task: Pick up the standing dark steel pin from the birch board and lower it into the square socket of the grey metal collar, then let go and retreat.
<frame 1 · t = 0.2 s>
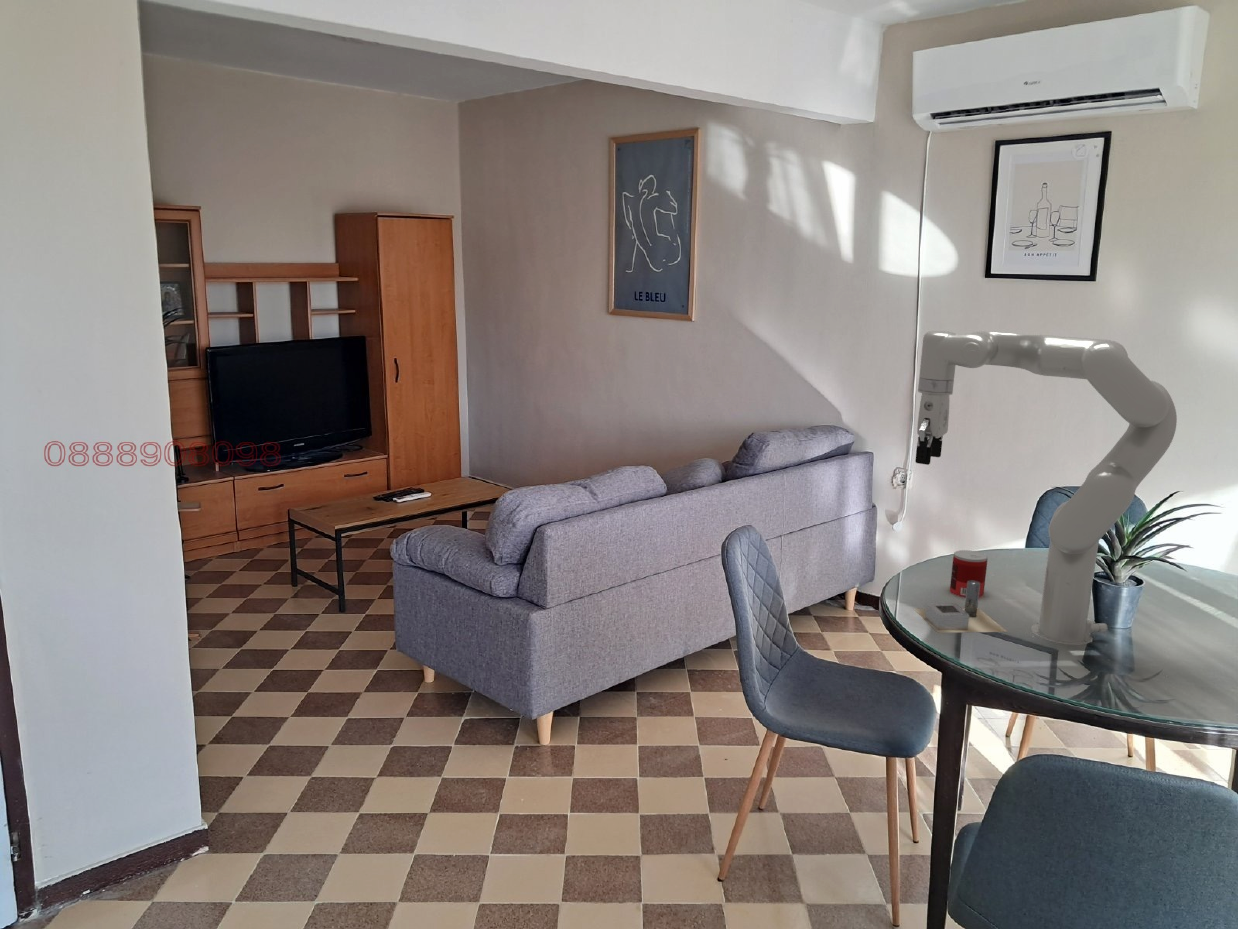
hand: (928, 460, 220), 36 cm above the table, tool pointing down, fingers open, 9 cm apart
collar: (946, 623, 216), resting on board
board: (958, 625, 219), on the table
pin: (970, 615, 222), point 1 cm above the table, touching board
canned food: (965, 597, 237), on the table
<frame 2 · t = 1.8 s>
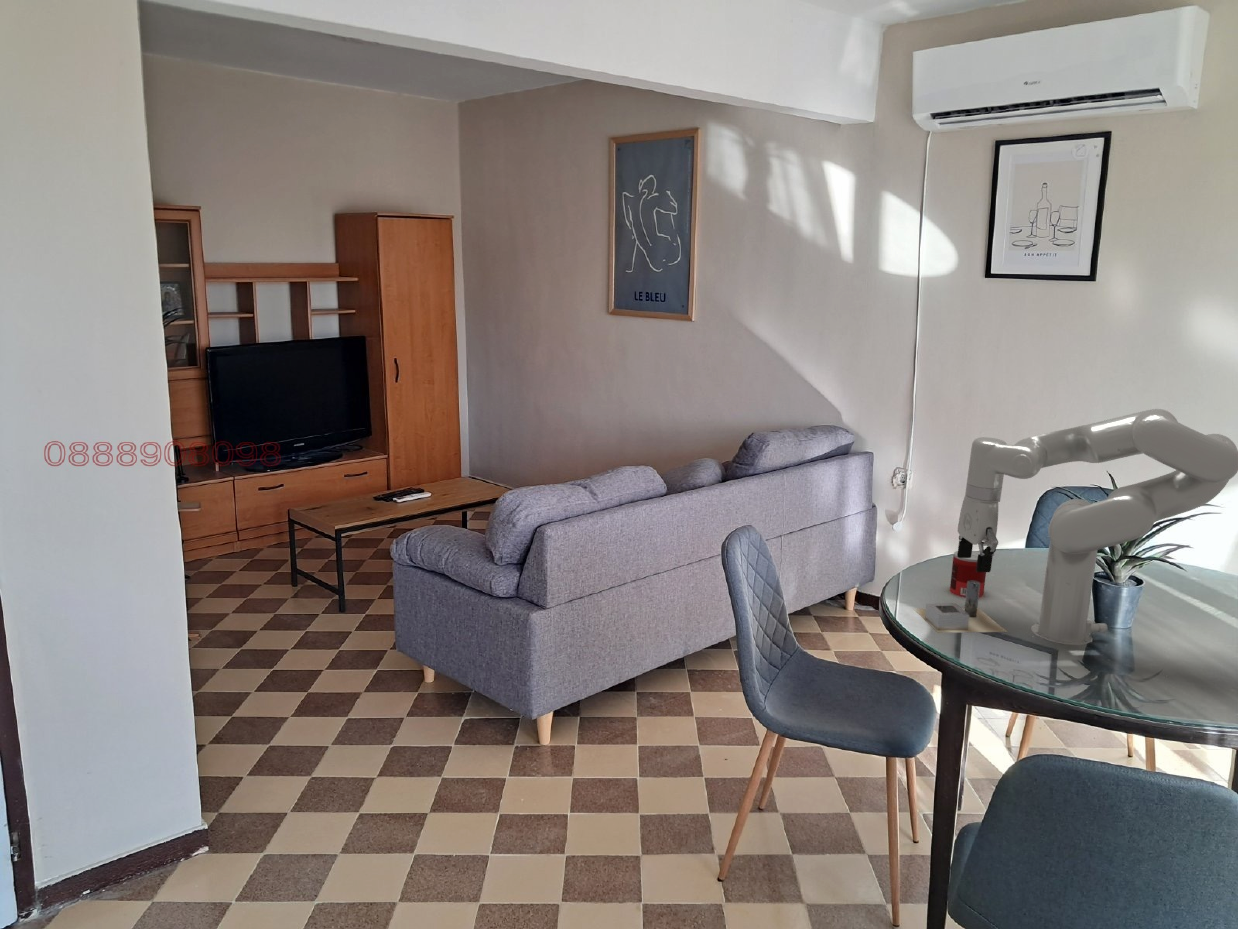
hand: (973, 564, 219), 13 cm above the table, tool pointing down, fingers open, 9 cm apart
nothing on the table moved.
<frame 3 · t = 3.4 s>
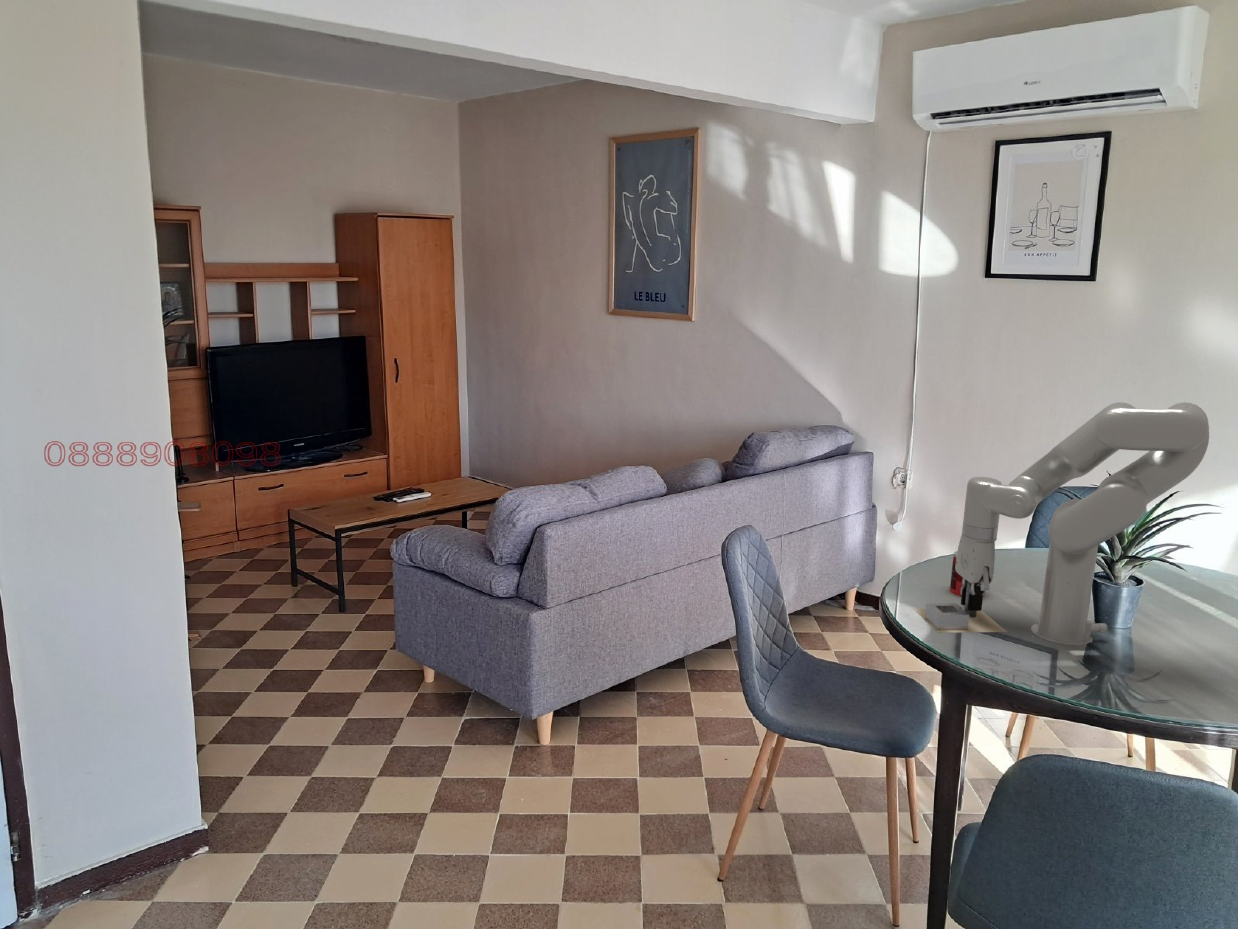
hand: (971, 607, 221), 3 cm above the table, tool pointing down, fingers closed on pin, 2 cm apart
pin: (969, 615, 222), point 1 cm above the table, touching board, gripper
everything else where it was.
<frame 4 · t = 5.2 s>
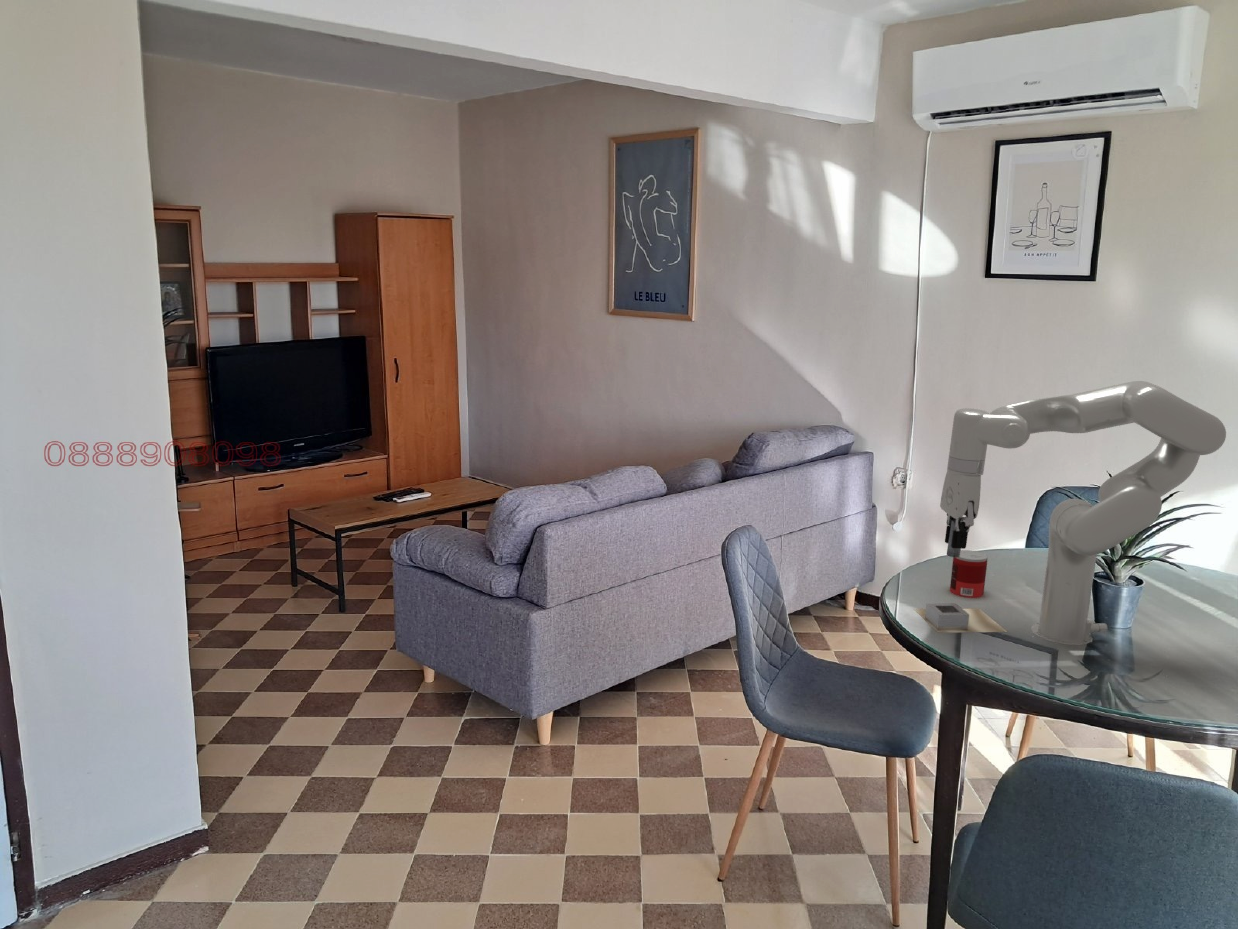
hand: (955, 544, 213), 20 cm above the table, tool pointing down, fingers closed on pin, 2 cm apart
pin: (953, 555, 213), point 17 cm above the table, touching gripper
everything else where it was.
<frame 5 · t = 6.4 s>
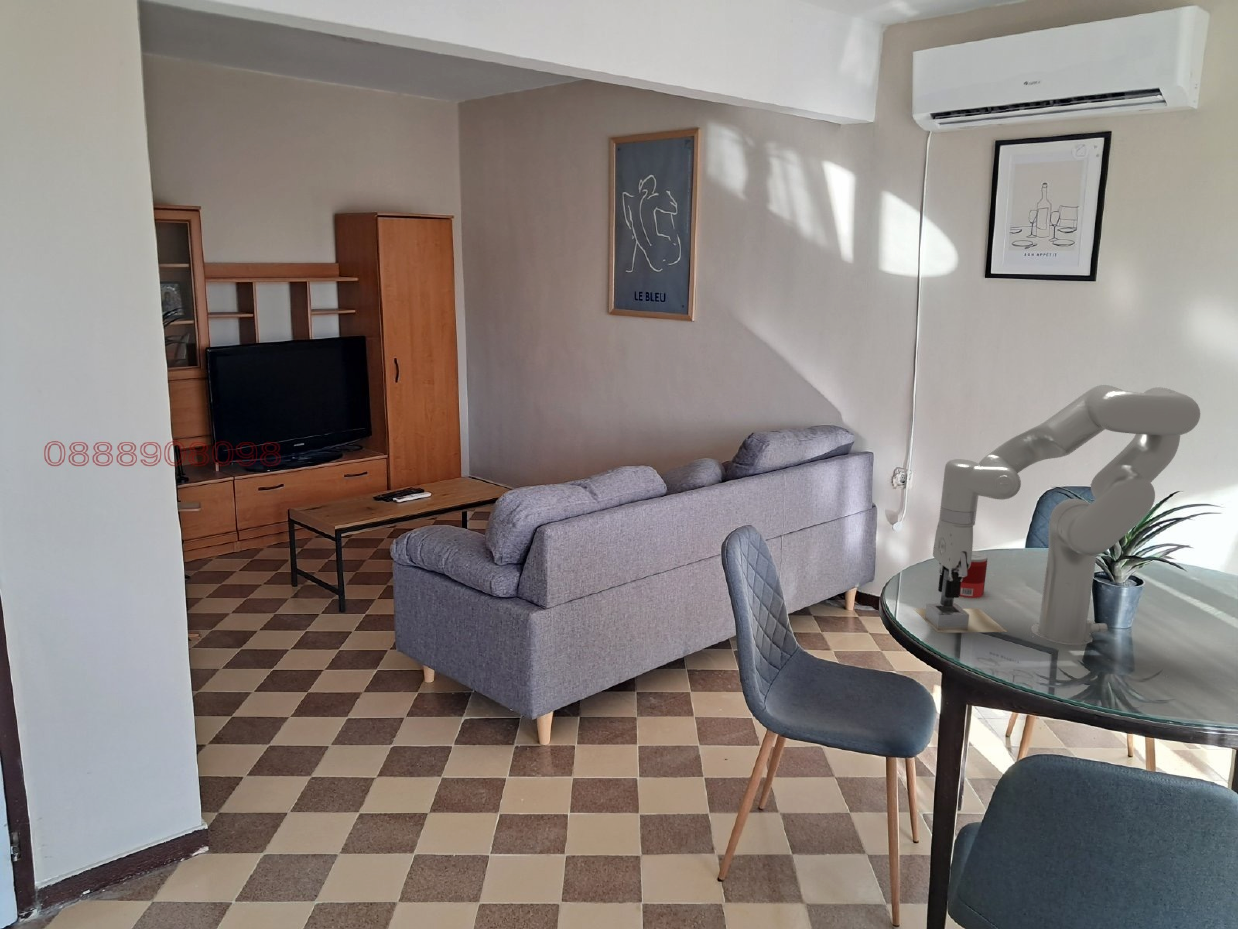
hand: (948, 593, 214), 8 cm above the table, tool pointing down, fingers closed on pin, 2 cm apart
pin: (946, 604, 215), point 6 cm above the table, touching gripper
everything else where it was.
when the fingers open (5 cm above the table, at t = 7.3 s): pin drops 1 cm, resting on board.
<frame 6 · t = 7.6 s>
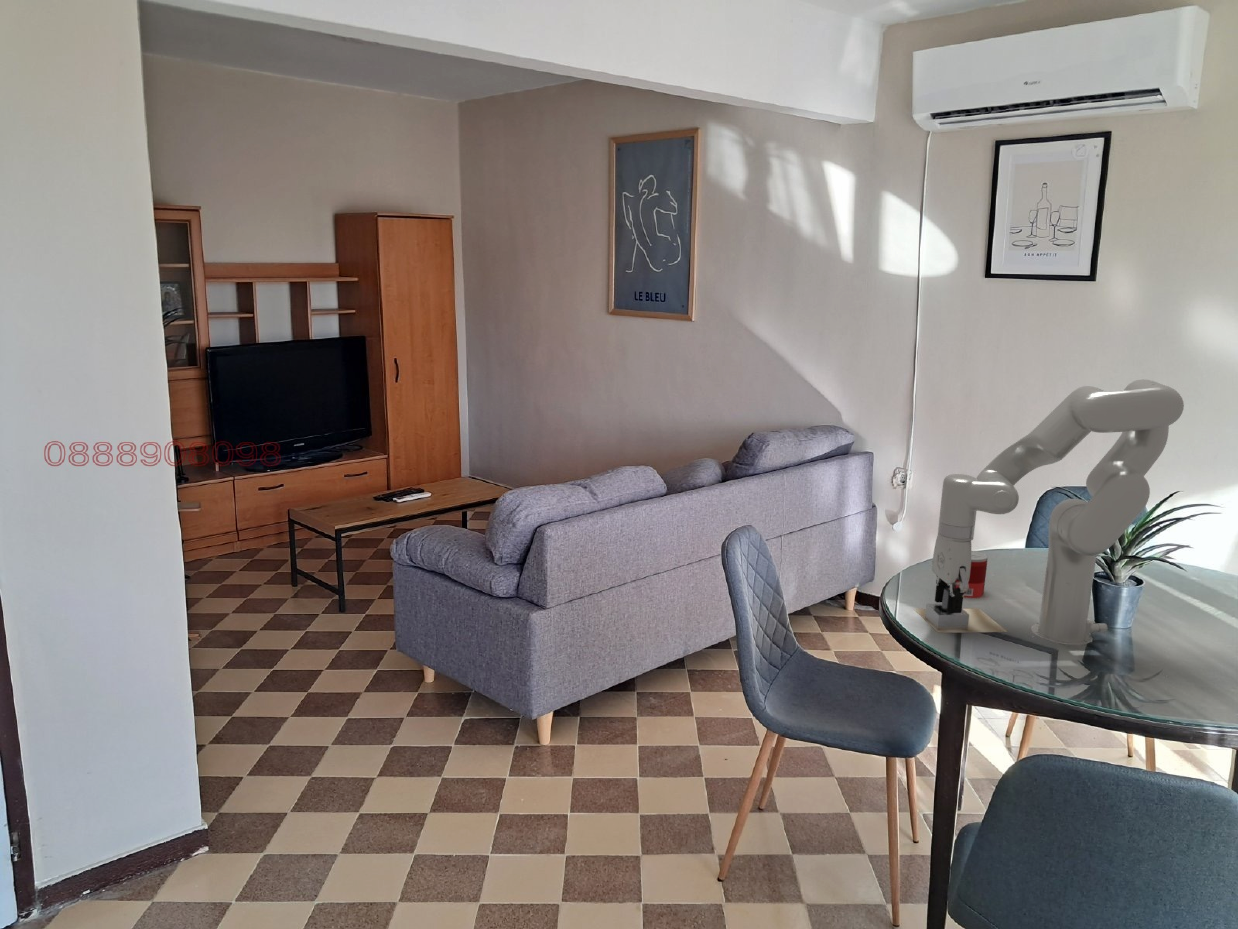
hand: (947, 606, 215), 5 cm above the table, tool pointing down, fingers open, 5 cm apart
pin: (945, 623, 216), point 1 cm above the table, touching board
everything else where it was.
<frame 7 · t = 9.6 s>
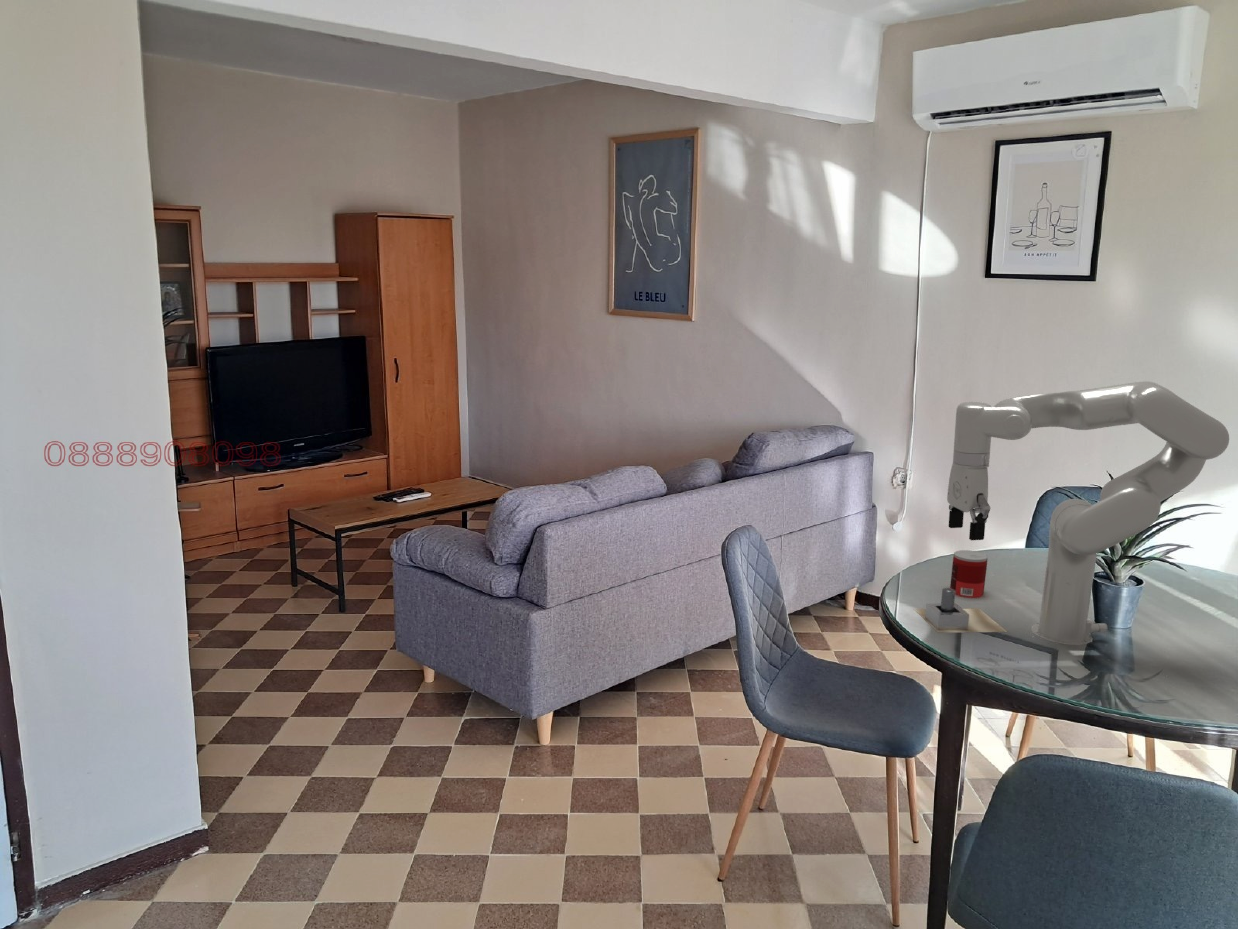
hand: (965, 533, 213), 22 cm above the table, tool pointing down, fingers open, 9 cm apart
nothing on the table moved.
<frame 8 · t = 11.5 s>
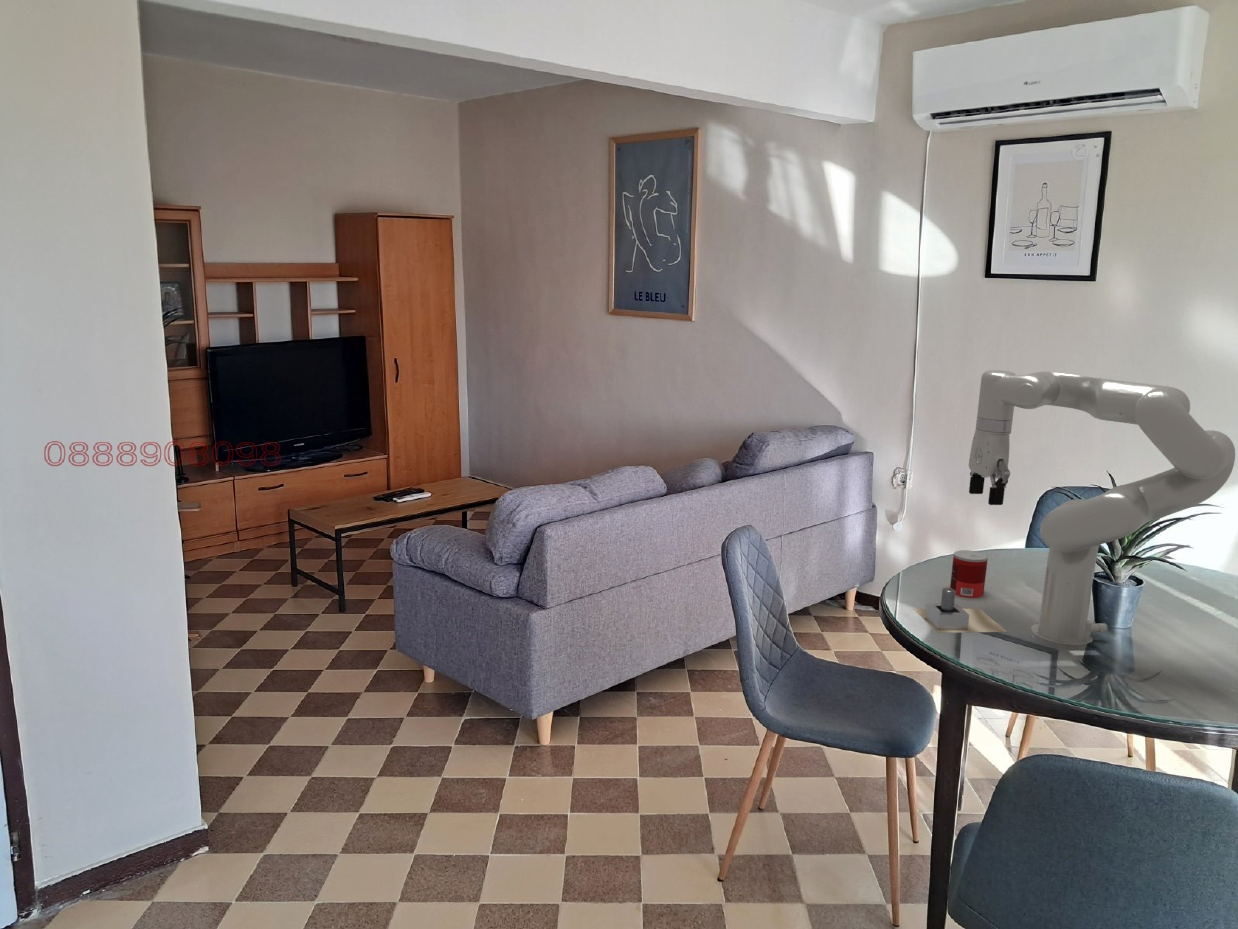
hand: (985, 499, 219), 28 cm above the table, tool pointing down, fingers open, 9 cm apart
nothing on the table moved.
at the end: pin 0.2 cm off-centre on the collar, point 0.0 cm above the collar's base; pin tilted 0°; the gripper is holding nothing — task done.
